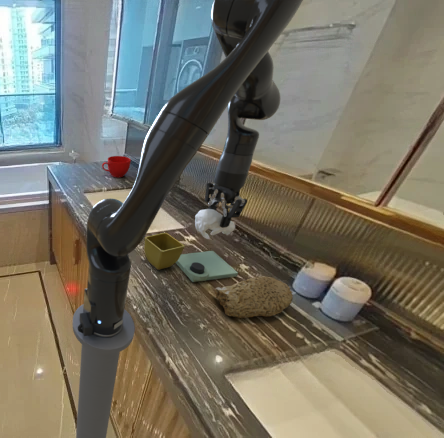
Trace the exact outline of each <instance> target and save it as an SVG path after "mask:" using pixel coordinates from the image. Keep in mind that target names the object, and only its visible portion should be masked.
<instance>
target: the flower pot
mask: <svg viewBox="0 0 444 438" xmlns="http://www.w3.org/2000/svg"><path fill="white" fill-rule="evenodd" d="M185 247H186V246H185V244H183V243H182V242H180V240H178V239H176V238H174V236H173V235H170V234H169V233H168V232H161V233H157V234H153V235H147V236H145V237H144V254H145V257H146V259H147V261H148V262H149V264H151V265H152V266H153V267H154V268H155V269H157V270H158V271H159V270H163V269H166V268H170V267H172V266H173V265H175V264H176V262H177V261H178V259H179V258H180V256H181V254H183V251H184V249H185Z"/></svg>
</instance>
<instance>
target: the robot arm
mask: <svg viewBox="0 0 444 438" xmlns="http://www.w3.org/2000/svg"><path fill="white" fill-rule="evenodd" d="M303 1H304V0H213V2H212V5H211V9H210V10H211V11H210V22H211V27H212V30H213V33H214V35H215V38H216V39H217V41H218V44H219V46H220V48H221V50H222V52H223V55H224V57H225V58H224V59H223V60H222V61H221V62H220V63H219V64H217V65H216V66H215V67H214V68H212V69H210V71H207V73H205V74H203V75H202V76H201V77H199V78H197V79H196V80H194V81H192V82H191V83H190V84H188V85H187V86H185V87H183V88H182V89H181V90H179V91H177V92H176V93H174V95H172V96H171V97H170V98H169V99H168V100H167V101H166V102H165V103H164V105H163V107H162V108H161V110H160V112H159V113H158V114H157V116H156V118H155V119H154V121H153V123H152V124H151V126H150V128H149V129H148V131H147V133H146V134H145V137H144V140H143V143H142V147H141V153H140V157H139V164H138V170H137V173H136V178H135V181H134V184H133V186H132V188H131V190H130V191H129V193H128V195H127V197H126V198H125V200H124V201H123V202H122V201H121V200H119V199H116V198H105V199H104V198H103V199H101V200H100V201H98V202H97V203H96V204H95V205H93V207H92V208H91V209H90V211H89V214H88V216H87V221H86V245H85V247H86V249H85V250H86V257H87V261H88V268H87V269H88V270H87V284H86V288H84V291H83V304H84V305H83V304H82V305H83V313H80V325H79V326H78V331H79V332H81V333H83V334H84V336H89V335H96V336H98V337H102V338H111V337H114V336H116V335H117V334H119V333H120V331H121V329H122V324H123V315H124V309H125V307H126V301H127V296H128V290H129V289H128V287H129V281H130V276H131V271H132V261H131V258H130V255H129V254H130V253H132V252H133V251H134V250H136V248H137V247H138V246H139V245H140V244H141V243H142V241H143V240H144V239H145V237H146V235H147V233H148V231H149V230H150V228H151V227H152V224H153V222H154V221H155V218H156V217H157V215H158V213H159V211H160V209H161V208H162V206H163V204H164V202H165V201H166V199H167V197H168V196H169V194H170V192H171V191H172V190H173V188H174V187H175V185H176V183H177V182H178V180H179V179H180V177H181V175H182V174H183V173H184V171H185V169H186V168H187V166H188V165H189V163H190V162H191V161H192V159H193V158H194V157H195V156H196V154H197V152H198V151H199V150H200V148H201V147H202V145H203V144H204V142H206V139H207V138H208V136H209V135H210V134H211V132H212V130H213V129H214V127H215V126H216V124H217V122H218V121H219V120H220V118H221V116H222V115H223V113H224V112H225V111H226V109H227V133H226V138H225V142H224V146H223V149H222V152H221V154H220V156H219V159H218V163H217V167H216V170H215V174H214V177H213V182H207V183H206V187H205V195H204V202H205V203H207V206H208V207H207V209H213V210H216V211H217V209H218V205H219V203H221V209H222V210H223V211H222V214H223V215H222V220H221V223H220V227H222V228H224V227H228V226H229V224H230V221H232V219H233V218H239V217H240V216H241V214H242V212H243V211H244V208H245V207H246V205H247V203H248V199H247V198H243V197H241V196H240V193H241V189H242V188H244V186H245V183H246V181H247V178H248V175H249V171H250V168H251V167H252V163H253V157H254V152H255V150H256V147H257V144H258V141H259V138H260V132H259V131H258V130H256V129H254V128H251V127H248V126H246V125H244V123H243V121H242V119H245V120H255V121H264V120H268V119H270V118H272V117H273V116H274V115H275V114H276V113H277V112H278V110H279V107H280V104H281V93H280V89H279V88H278V86H277V84H276V83H275V81H274V80H273V79H274V67H275V66H274V61H273V57H272V56H271V54H270V52H269V50H271V48H272V47H273V45H274V44H275V43H276V41H277V40H278V39H279V38H280V36H281V35H282V33H283V32H284V31H285V30H286V28H288V26H289V24H290V22H291V21H292V20H293V18H294V17H295V15H296V14H297V12H298V10H299V8H300V7H301V5H302V3H303ZM81 328H82V329H81Z"/></svg>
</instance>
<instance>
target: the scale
mask: <svg viewBox="0 0 444 438" xmlns="http://www.w3.org/2000/svg"><path fill="white" fill-rule="evenodd" d="M194 262H197V263H201V264H202V265H204V267H205V269H204V272H203V273H202V274H196V273H194V272H192V271H191V269H190V268H191V265H192V263H194ZM175 264H176V266H178V267H179V269H180V270H181V271H182V272H183V273H184V274H185V276H187V277H188V279H189V280H190V281H191V282H192V283H197V282H204V281H212V280H219V279H227V278H235V277H238V275H239V272H238V271H236V270H235V268H233V267H232V266H231V265H230V264H229V263H227V261H225V260H224V259H223V258H222V257H221V256H219V254H217V253H216V252H215V251H214V250H206V251H199V252H198V251H197V252H191V253H181V256H180V258H179V259H178V261H177V262H176V263H175Z"/></svg>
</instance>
